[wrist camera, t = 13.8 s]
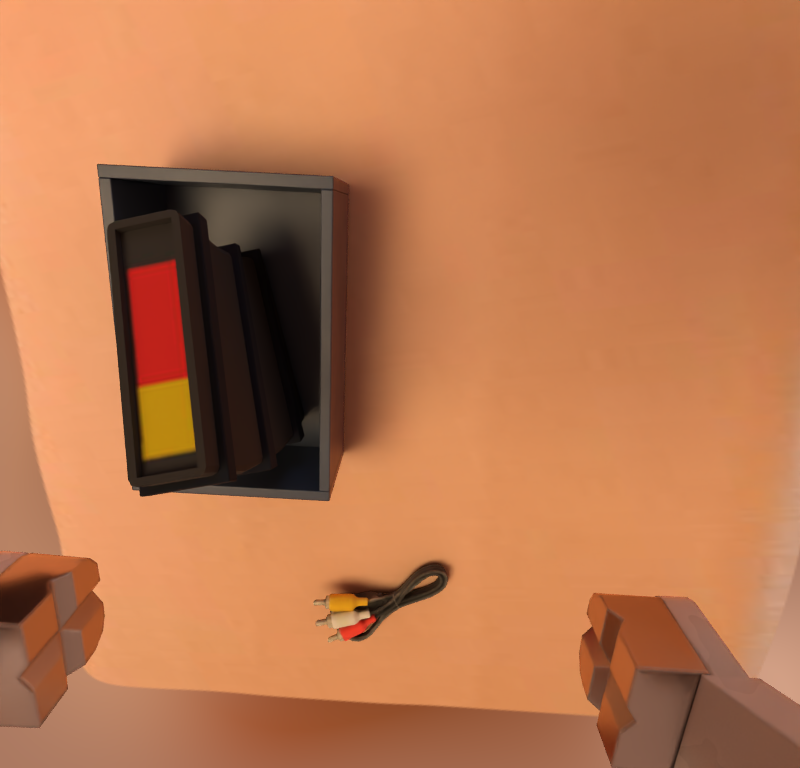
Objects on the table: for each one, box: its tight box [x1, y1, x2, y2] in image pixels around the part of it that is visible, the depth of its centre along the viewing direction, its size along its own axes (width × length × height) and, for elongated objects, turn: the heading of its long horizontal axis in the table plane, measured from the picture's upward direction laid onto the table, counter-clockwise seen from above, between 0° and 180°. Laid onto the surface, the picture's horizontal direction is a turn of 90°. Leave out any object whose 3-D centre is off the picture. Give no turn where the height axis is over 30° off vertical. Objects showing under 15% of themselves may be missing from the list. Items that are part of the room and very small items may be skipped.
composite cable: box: [314, 564, 448, 642], centre depth 39 cm, size 10×5×2 cm, turn 106°
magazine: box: [107, 209, 304, 497], centre depth 29 cm, size 4×13×15 cm, turn 11°
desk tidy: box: [97, 164, 349, 501], centre depth 31 cm, size 17×11×6 cm, turn 177°
